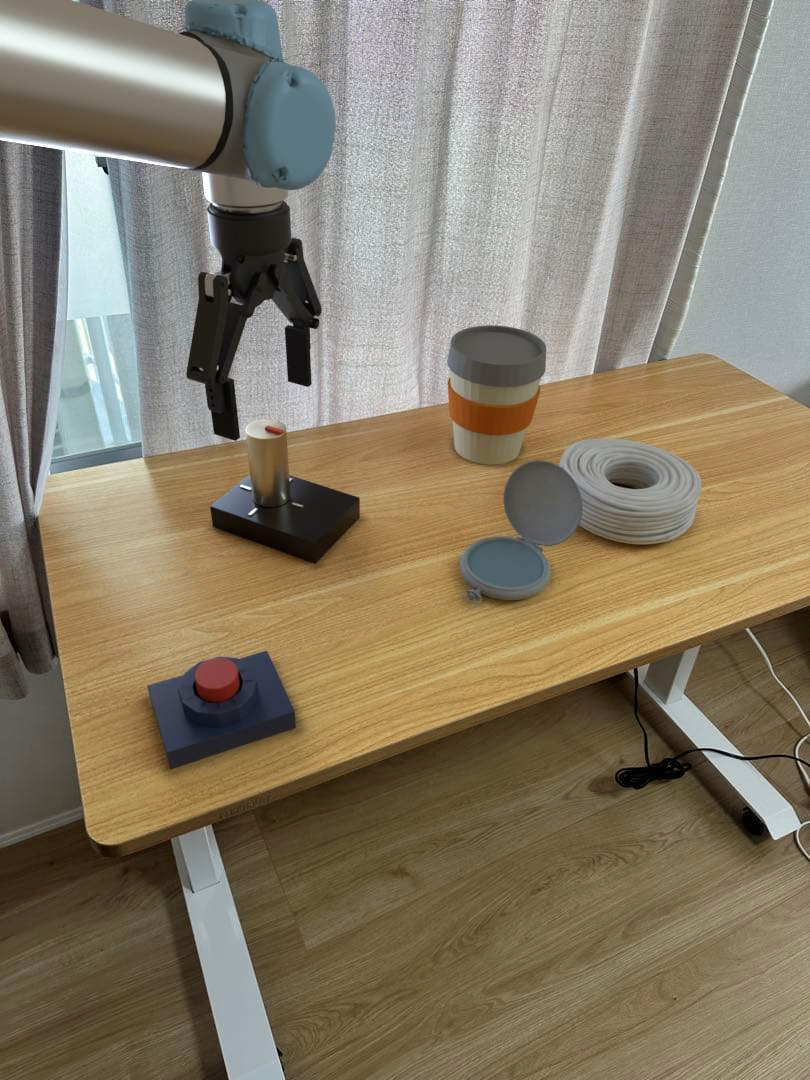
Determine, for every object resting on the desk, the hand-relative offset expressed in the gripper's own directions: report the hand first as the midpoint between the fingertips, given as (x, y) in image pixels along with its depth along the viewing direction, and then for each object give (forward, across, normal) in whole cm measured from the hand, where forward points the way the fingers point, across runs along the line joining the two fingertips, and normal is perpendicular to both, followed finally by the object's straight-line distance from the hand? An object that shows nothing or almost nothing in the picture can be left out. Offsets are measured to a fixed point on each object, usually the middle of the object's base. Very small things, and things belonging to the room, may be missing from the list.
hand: (265, 408), depth 87 cm
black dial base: (+14, 0, -2) cm, 15 cm away
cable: (+15, +23, -36) cm, 45 cm away
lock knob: (+11, 0, 0) cm, 11 cm away
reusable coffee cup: (+15, +28, -16) cm, 35 cm away
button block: (+14, -27, -13) cm, 33 cm away
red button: (+11, -27, -13) cm, 32 cm away
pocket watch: (+15, +4, -28) cm, 32 cm away
